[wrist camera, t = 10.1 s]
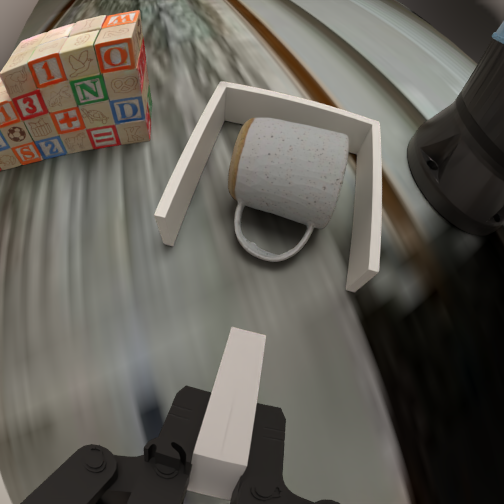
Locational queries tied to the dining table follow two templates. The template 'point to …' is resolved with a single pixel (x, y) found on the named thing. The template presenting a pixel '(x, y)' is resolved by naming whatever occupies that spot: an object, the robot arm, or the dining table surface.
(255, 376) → the robot arm
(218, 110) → the white u-shaped bracket
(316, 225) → the ceramic mug
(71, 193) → the dining table surface
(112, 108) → the stack of blocks
